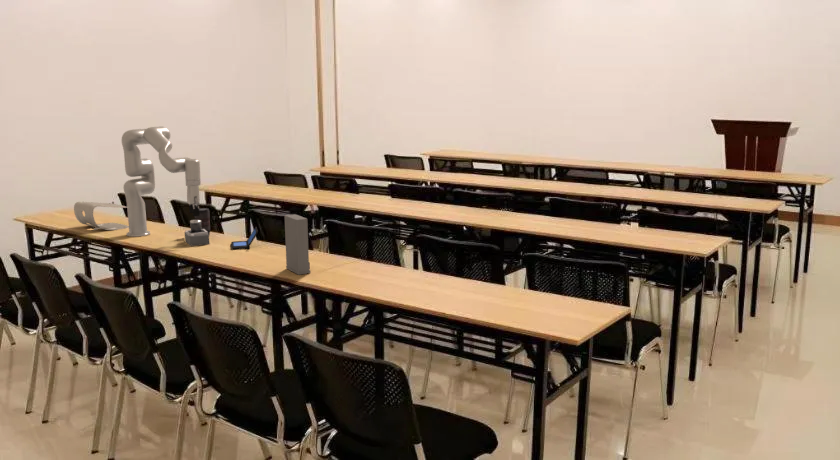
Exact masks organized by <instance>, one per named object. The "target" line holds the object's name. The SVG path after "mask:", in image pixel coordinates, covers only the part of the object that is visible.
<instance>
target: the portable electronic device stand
mask: <svg viewBox="0 0 840 460" xmlns="http://www.w3.org/2000/svg"><path fill="white" fill-rule="evenodd" d="M97 207H103V208H120V209H121V208H123V209H126V208H127V205H126V206H125V205H122V204H121V205H120V204H117V203H116V204H115V201H112V202H91V201H90V202H89V201H76V202H75V203H74V205H73V212H74V215H75V218H76V220H77V221H78V222H79V223H81V224H82V225H86V226H89V227H90V226H91V227H93V228H94V227H95V228H94V230H93V231H98V229H100V230H105V231H106V230H107V231H117V230H123V229H129V225H127V224H123V223H119V222H117V223H116V222H103V223H98V224H97V223H96V220H95V216H94V210H95V208H97ZM83 212H84V214H83Z"/></svg>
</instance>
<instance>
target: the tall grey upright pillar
mask: <svg viewBox="0 0 840 460" xmlns="http://www.w3.org/2000/svg"><path fill="white" fill-rule="evenodd" d="M308 227H309V223H308V218H307V217H303V216H301V215H298V214H287V215H286V214H285V215H284V232H285V233H284V234H285V235H284V236H285V239H284V241H285V259H286V265H285V268H286V269H287V270H289V271H291V272H292V273H295V274H296V275H298V276H301V275H304V274H307V273H309V274H311V271H312V270H311V266H310V264H311V263H310V260H309V259H310V257H309V232H308V231H309V229H308ZM307 275H308V274H307Z"/></svg>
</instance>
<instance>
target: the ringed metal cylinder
mask: <svg viewBox="0 0 840 460" xmlns="http://www.w3.org/2000/svg"><path fill="white" fill-rule="evenodd" d="M189 224H190V225H189V226H190V230H191V233H199V232H202V227H201V220H195V219H191V220H189Z"/></svg>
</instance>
